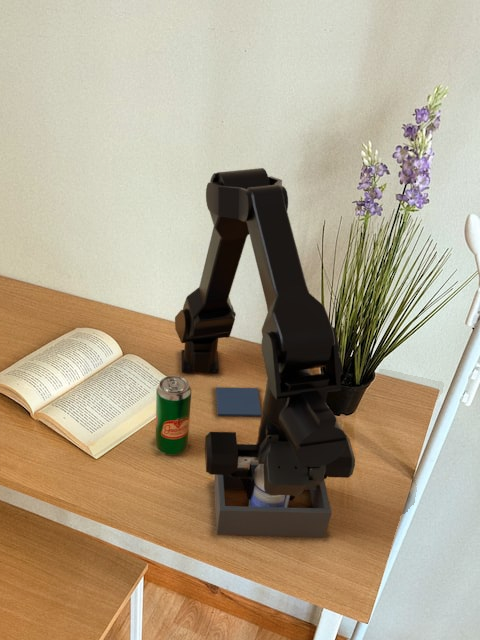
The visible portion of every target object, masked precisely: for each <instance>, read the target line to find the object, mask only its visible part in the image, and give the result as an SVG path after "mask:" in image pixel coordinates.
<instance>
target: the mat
mask: <svg viewBox="0 0 480 640" xmlns="http://www.w3.org/2000/svg"><path fill="white" fill-rule="evenodd" d="M259 395H260V394H259V388H258V387H215V396H216V410H217V417H245V418H247V417H249V418H250V417H251V418H261V415H262V407H261V401H260V396H259Z"/></svg>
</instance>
